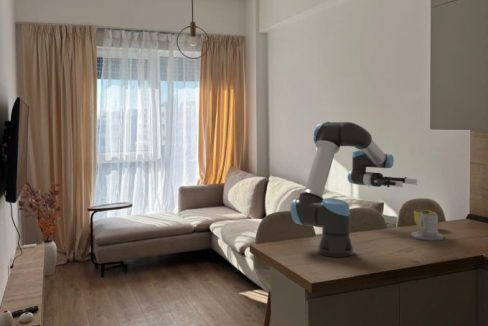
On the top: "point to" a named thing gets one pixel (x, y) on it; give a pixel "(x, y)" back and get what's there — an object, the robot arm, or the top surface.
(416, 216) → the flower pot
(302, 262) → the top surface
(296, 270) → the top surface
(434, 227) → the mug
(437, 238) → the trivet
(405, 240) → the top surface
